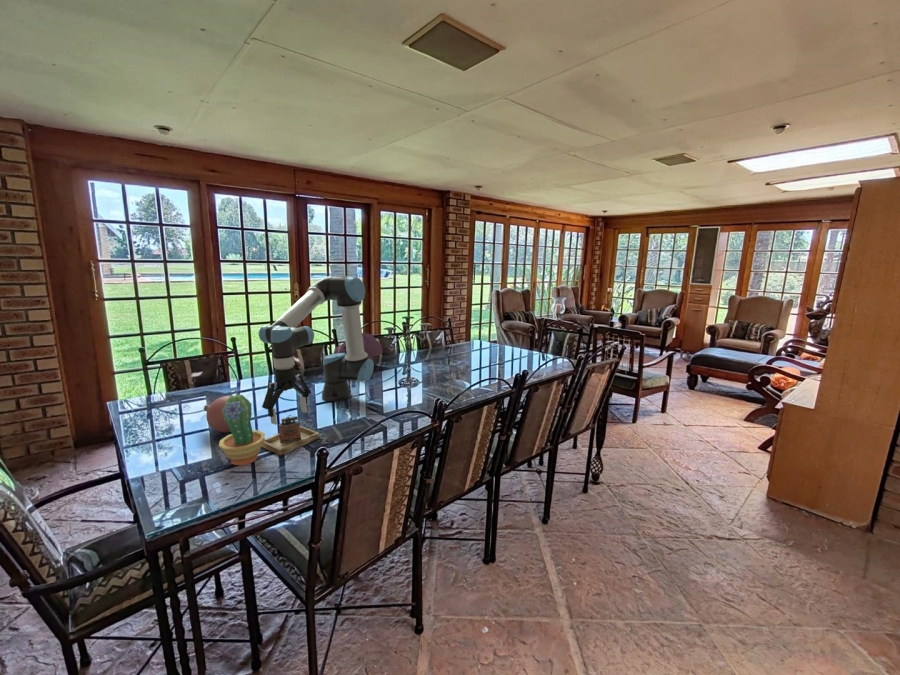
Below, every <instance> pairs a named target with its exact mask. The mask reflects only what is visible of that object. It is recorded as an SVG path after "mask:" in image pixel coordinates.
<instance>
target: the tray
mask: <svg viewBox="0 0 900 675" xmlns="http://www.w3.org/2000/svg"><path fill="white" fill-rule="evenodd" d="M300 434H301V440H299V441H295V442H289V443H280V432H279V433H277V434H275V435H273V436H269V437H268V438H267V437H266V438H265V440H264V442H263V443H262V446H261V448H264V449H266V450H268V451H270V452H272V453H274V454H277V455H279V456H282V455H285V454H287V453H289V452H292V451H293V450H295V449H297V448H300V447H302V446H305V445H307V444H309V443H311V442H313V441H316V440H317V439H320V432H318V431H315V430H312V429H311V428H307V427H304V426H303V425H300Z"/></svg>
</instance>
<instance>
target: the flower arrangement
mask: <svg viewBox="0 0 900 675" xmlns="http://www.w3.org/2000/svg"><path fill="white" fill-rule="evenodd" d="M362 336H363V345H364V352H366V353H367V354H368V359H371V360H372V361H373V362H374V357H379V356H381V355H383V349H384V348H383V346H382V344H381V343H380V341H378V340H377V339H376V337H375V336H374V335H373V334H371V333H368V332H366V333H365V332H364V333H363V332H362ZM336 353H345V354H347V349H346V342H345V341H344V342H343V343H342V344H340V345H338V346H337V347H336V348H335V349H334V351H333V354H336Z"/></svg>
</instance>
